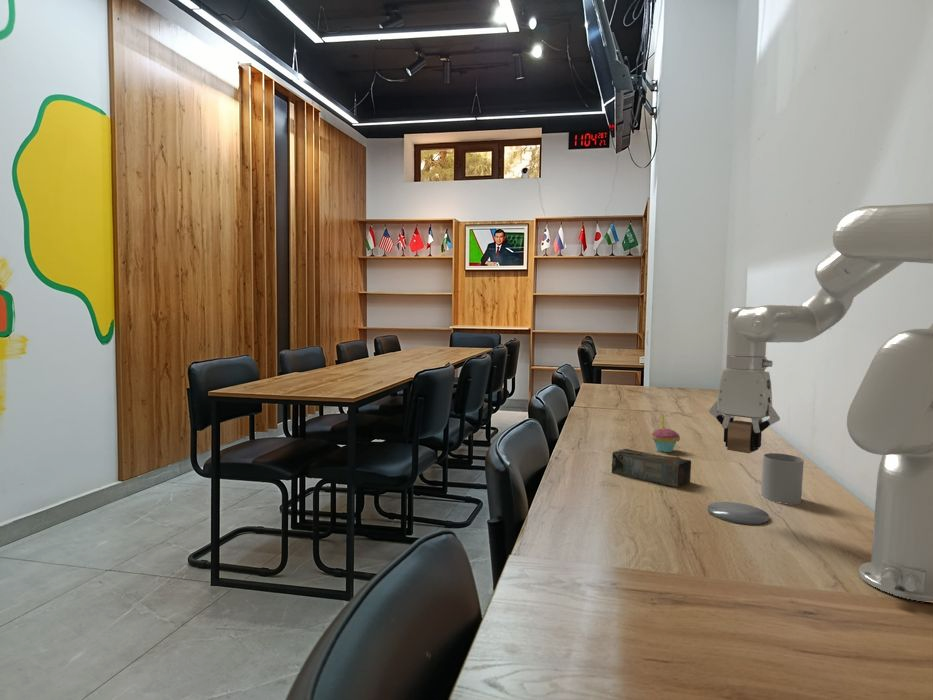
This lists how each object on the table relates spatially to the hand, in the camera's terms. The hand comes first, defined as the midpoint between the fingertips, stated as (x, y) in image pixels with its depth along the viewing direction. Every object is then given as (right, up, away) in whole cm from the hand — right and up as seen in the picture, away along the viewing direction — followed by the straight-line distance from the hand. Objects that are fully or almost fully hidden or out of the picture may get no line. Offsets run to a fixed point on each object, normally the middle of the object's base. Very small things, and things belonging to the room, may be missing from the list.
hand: (741, 447), depth 122 cm
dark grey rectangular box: (-11, -13, +28) cm, 33 cm away
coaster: (-1, -15, +1) cm, 15 cm away
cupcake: (+4, -12, +59) cm, 61 cm away
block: (0, -1, 0) cm, 1 cm away
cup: (+16, -15, +13) cm, 25 cm away
